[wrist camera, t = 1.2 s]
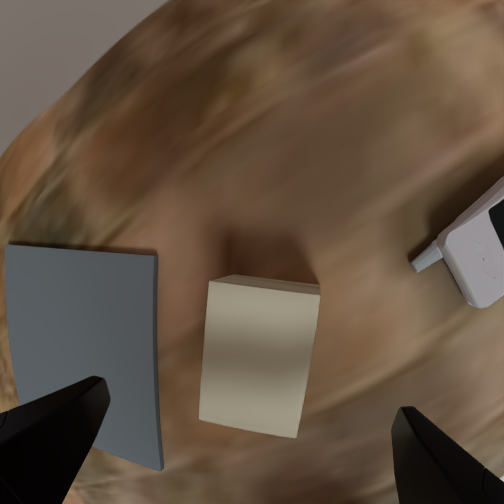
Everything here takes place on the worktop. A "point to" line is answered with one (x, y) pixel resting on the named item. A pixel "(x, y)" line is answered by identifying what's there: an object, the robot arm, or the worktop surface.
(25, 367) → the rubber mat
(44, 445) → the robot arm
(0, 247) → the worktop surface
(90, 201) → the worktop surface
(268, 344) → the card box
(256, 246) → the worktop surface
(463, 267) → the mobile phone
